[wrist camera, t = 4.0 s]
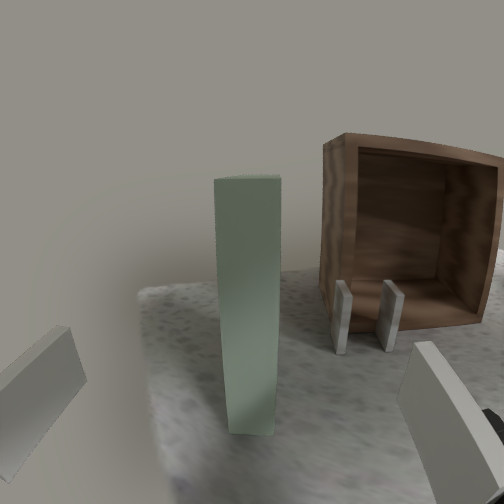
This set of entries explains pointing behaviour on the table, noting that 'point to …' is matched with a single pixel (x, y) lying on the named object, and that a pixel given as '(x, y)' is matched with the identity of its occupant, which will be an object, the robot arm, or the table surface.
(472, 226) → the cabinet
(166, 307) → the table surface
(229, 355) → the cabinet door
